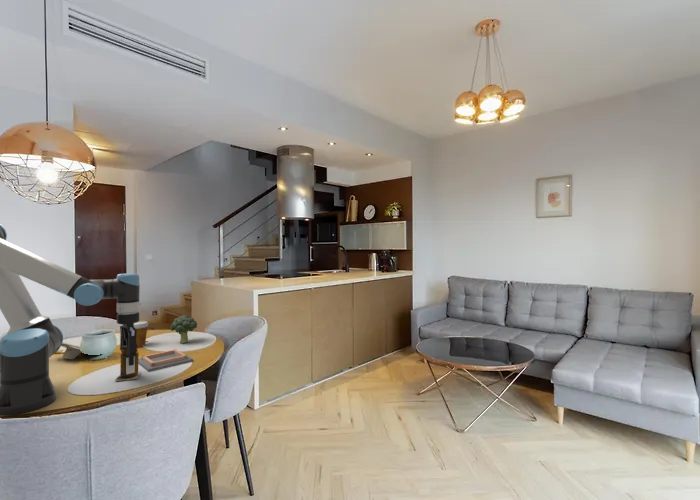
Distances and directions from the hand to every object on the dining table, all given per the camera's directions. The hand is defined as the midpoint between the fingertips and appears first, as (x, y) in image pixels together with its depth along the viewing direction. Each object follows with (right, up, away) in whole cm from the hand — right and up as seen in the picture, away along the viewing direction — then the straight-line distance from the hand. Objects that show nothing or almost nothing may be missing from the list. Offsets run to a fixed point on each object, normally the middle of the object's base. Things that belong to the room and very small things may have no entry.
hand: (128, 370), depth 136 cm
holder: (+5, -2, +18) cm, 19 cm away
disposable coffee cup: (-22, -2, +42) cm, 47 cm away
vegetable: (-1, -2, +48) cm, 48 cm away
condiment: (+1, -2, -1) cm, 2 cm away
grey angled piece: (-39, -2, +25) cm, 46 cm away
